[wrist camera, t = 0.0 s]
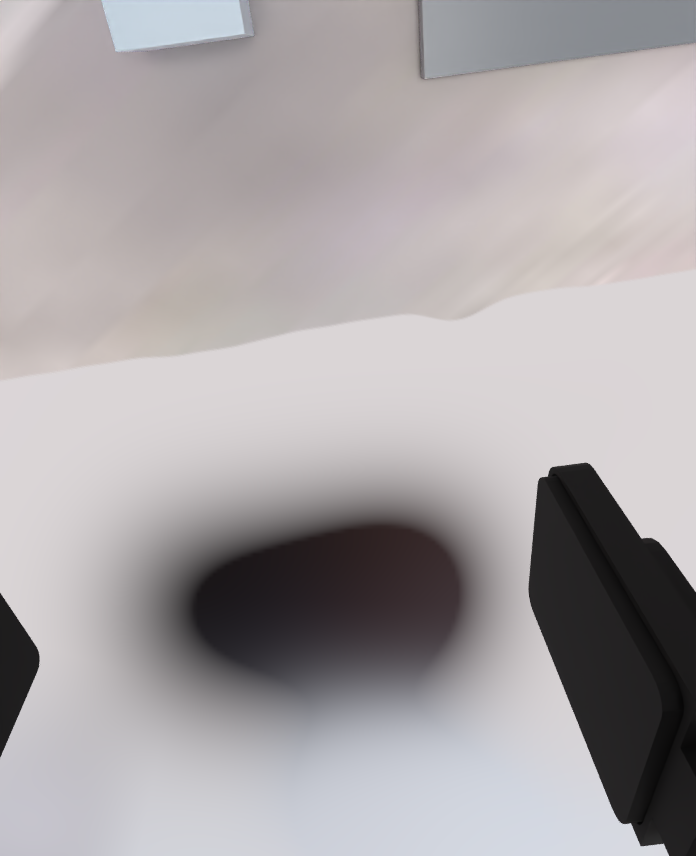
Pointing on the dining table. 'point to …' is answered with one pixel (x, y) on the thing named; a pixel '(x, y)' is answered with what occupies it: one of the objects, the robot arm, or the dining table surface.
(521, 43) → the baseplate
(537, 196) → the dining table surface
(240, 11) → the blue brick
